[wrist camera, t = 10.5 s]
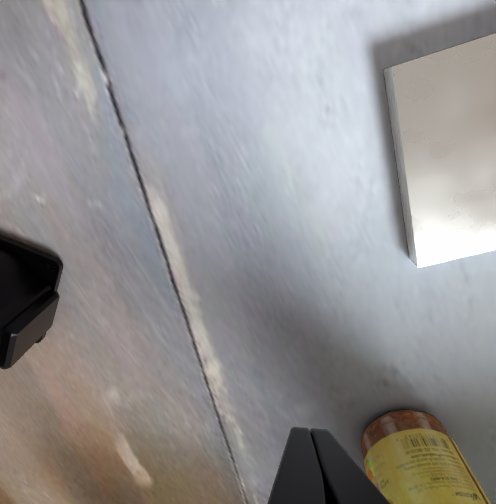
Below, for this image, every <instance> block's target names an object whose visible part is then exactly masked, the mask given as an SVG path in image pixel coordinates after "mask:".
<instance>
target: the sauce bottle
mask: <svg viewBox="0 0 496 504" xmlns="http://www.w3.org/2000/svg"><path fill="white" fill-rule="evenodd" d="M361 448H362V453H363V457H364V465H365V471H366V475H367V476H368V477H369V479H370V480H371V481H372V482H373V483H374V485H375V486H376V487H377V488H378V489H379V490H380V492H381V493H382V494H383V495H384V496H385V497H386V499H387V500H388V501H389V502H390V503H391V504H491V502H490V501H489V499H488V497H487V496H486V494H485V492H484V490H483V489H482V487H481V485H480V484H479V482H478V480H477V479H476V477H475V475H474V474H473V472H472V470H471V468H470V467H469V465H468V463H467V462H466V460H465V458H464V456H463V455H462V453H461V451H460V450H459V448H458V446H457V445H456V443H455V441H454V440H453V439H452V438H451V437H449V436H448V434H447V431H446V430H445V429H444V427H443V426H442V425H441V423H440V422H439V421H438V420H437V419H436V418H435V417H433V416H431V415H429V414H427V413H424V412H420V411H412V410H399V411H395V412H389V413H387V414H385V415H383V416H381V417H379V418H378V419H376V420H375V421H373V422H372V423H371V424H370V425H369V426H368V427H367V428H366V429H365V431H364V433H363V435H362V440H361Z"/></svg>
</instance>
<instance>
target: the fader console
mask: <svg viewBox="0 0 496 504" xmlns="http://www.w3.org/2000/svg"><path fill="white" fill-rule="evenodd" d="M384 77H385V84H386V91H387V99H388V106H389V113H390V120H391V128H392V135H393V142H394V149H395V157H396V164H397V171H398V179H399V186H400V193H401V200H402V208H403V215H404V222H405V230H406V237H407V244H408V251H409V259H410V260H411V261H412V262H413V263H414V264H415V265H416V266H417V267H418V268H420V267H424V266H428V265H433V264H437V263H441V262H446V261H450V260H454V259H459V258H463V257H467V256H471V255H476V254H480V253H484V252H489V251H493V250H496V33H494V34H491V35H488V36H485V37H482V38H479V39H476V40H473V41H470V42H466V43H463V44H460V45H457V46H454V47H451V48H448V49H445V50H442V51H439V52H436V53H432V54H429V55H426V56H423V57H420V58H417V59H414V60H411V61H408V62H405V63H401V64H398V65H395V66H392V67H389V68H386V69H384Z"/></svg>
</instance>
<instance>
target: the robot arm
mask: <svg viewBox="0 0 496 504" xmlns="http://www.w3.org/2000/svg"><path fill="white" fill-rule="evenodd" d="M51 264H53V265H54V266H55V268H53V267H52V266H51ZM62 270H63V263H62V261H61V260H60V259H58V258H57V257H54V256H52V255H49V254H47V253H44V252H42V251H39V250H37V249H34V248H32V247H29V246H27V245H25V244H22V243H20V242H17V241H15V240H12V239H10V238H7V237H5V236H2V235H0V368H1V369H8V368H10V367H12V366H13V365H14V364H15V363H16V362H17V361H18V360H19V359H20V358H21V357H22V356H23V354H24V353H25V352H26V351H27V350H28V349H29V348H30V347H31V346H32V345H33V344H34V343H39V342H41V340H42V339H43V338H44V337H45V335H46V331H47V330H48V329H49V328H50V327H51V326H52V323H53V319H54V316H55V312H56V308H57V304H58V301H59V294H58V292H57V289H58V285H59V281H60V278H61V274H62ZM268 504H391V503H390V502H389V501H388V500H387V499H386V497H385V496H384V495H383V494H382V493H381V492H380V490H379V489H378V488H377V487H376V486H375V485H374V483H373V482H372V481H371V480H370V479H369V477H368V476H367V475H366V474H365V473H364V472H363V470H362V469H361V468H360V467H359V466H358V465H357V463H356V462H355V461H354V460H353V459H352V458H351V456H350V455H349V454H348V453H347V452H346V450H345V449H344V448H343V447H342V446H341V445H340V443H339V442H338V441H337V440H336V439H335V438H334V436H333V435H332V434H331V433H330V432H329V431H328V430H325V429H311V430H310V431H309V429H308V428H299V427H293V428H292V429H291V431H290V434H289V437H288V440H287V443H286V446H285V450H284V453H283V456H282V459H281V462H280V465H279V469H278V472H277V475H276V478H275V481H274V484H273V488H272V491H271V494H270V497H269V500H268Z"/></svg>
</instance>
